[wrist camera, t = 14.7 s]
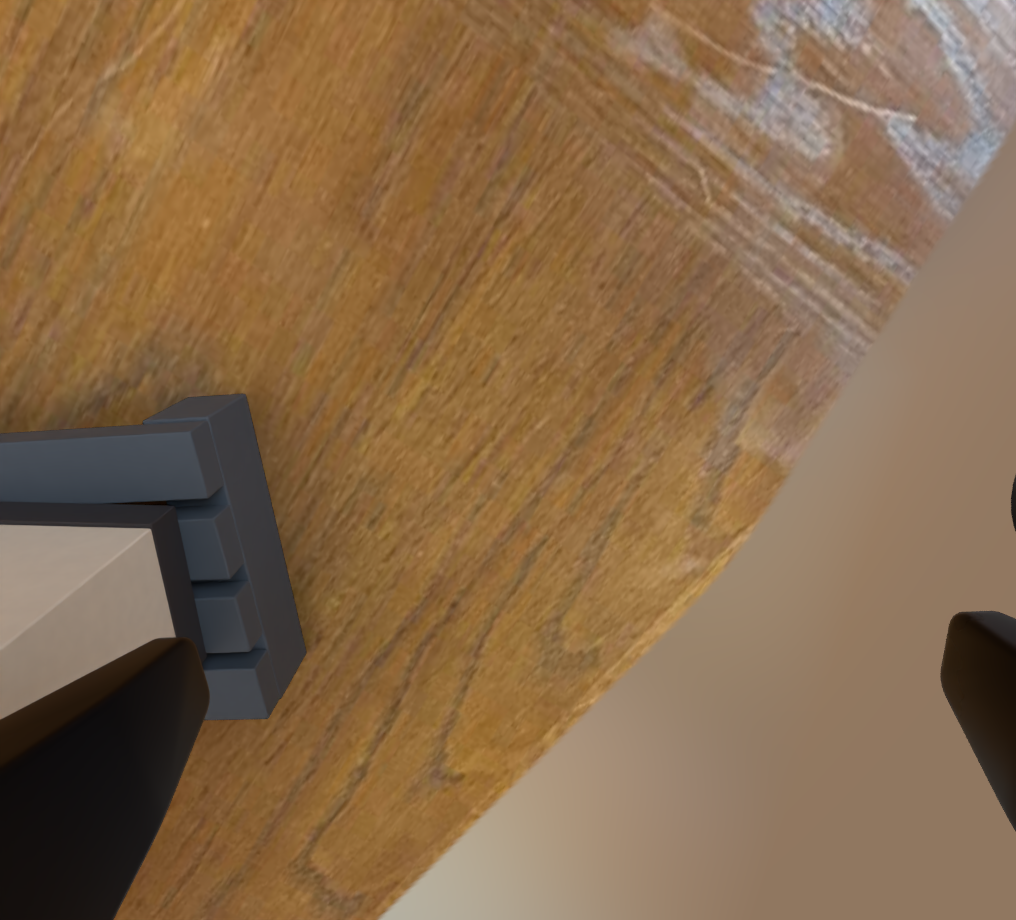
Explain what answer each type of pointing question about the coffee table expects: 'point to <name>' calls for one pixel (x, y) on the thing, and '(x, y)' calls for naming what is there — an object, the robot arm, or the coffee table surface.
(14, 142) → the coffee table surface
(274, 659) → the grey shipping pallet
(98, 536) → the cream boot
